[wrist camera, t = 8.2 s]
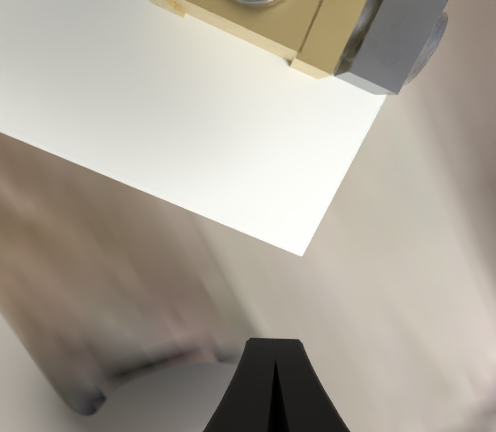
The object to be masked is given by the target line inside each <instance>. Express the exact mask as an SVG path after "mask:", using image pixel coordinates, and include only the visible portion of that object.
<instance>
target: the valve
mask: <svg viewBox="0 0 496 432" xmlns="http://www.w3.org/2000/svg"><path fill="white" fill-rule="evenodd" d="M149 1H150V2H151V3H152V4H154V5H156V6H158V7H160V8H163V9H165V10H167V11H169V12H171V13H173V14H176V15H178V16H180V17H182V18H184V16H185V13H186V14H188V15H190V16H192V17H194V18H196V19H199V20H201V21H203V22H205V23H207V24H210V25H212V26H214V27H216V28H218V29H220V30H223V31H225V32H227V33H229V34H231V35H233V36H236V37H238V38H240V39H242V40H244V41H247V42H249V43H251V44H253V45H255V46H257V47H260V48H262V49H264V50H266V51H268V52H270V53H273V54H275V55H277V56H279V57H281V58H283V59H286V60H288V61H290V62H291V64H290V66H289V67H291V68H293V69H296V70H298V71H300V72H302V73H304V74H307V75H309V76H311V77H313V78H315V79H317V80H319V79H322V78H324V77H327V76H330V75H332V73H333V71H334V69H335V67H336V65H337V63H338V61H339V58H340V57H342V58H343V59H342V61H341V63H340V65H339V67H338V70H337V72H336V74H335V76H334V77H337V78H339V79H341V80H343V81H345V82H347V83H350V84H352V85H354V86H356V87H358V88H360V89H363V90H365V91H367V92H369V93H371V94H373V95H398V93H399V91H400V89H401V88H402V86H403V85H406V84H407V83H409V82H410V81H411V80H413V79H414V78H415V77H416V76H417V74H418V73H419V72H420V71H421V70H422V69H423V67H424V66H425V65H426V63H427V62H428V60H429V59H430V57H431V56H432V54H433V53H434V51H435V49H436V48H437V46H438V44H439V42H440V40H441V38H442V36H443V33H444V31H445V28H446V25H447V21H448V15H447V13H445V12H443V9H444V7H445V5H446V4H447V2H448V0H281V1H279V2H277V3H275V4H273V5H270V6H267V7H262V8H249V7H244V6H240V5H238V4H235V3H234V2H232V1H230V0H149Z"/></svg>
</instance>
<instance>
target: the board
mask: <svg viewBox="0 0 496 432" xmlns="http://www.w3.org/2000/svg"><path fill="white" fill-rule="evenodd" d="M342 59H343V58H342V57H340V58H339V61H338V63H337V65H336V67H335V69H334V71H333V73H332V75H330V76H327V77H324V78H322V79H319V80H317V79H315V78H313V77H311V76H309V75H307V74H304V73H302V72H300V71H298V70H296V69H293V68H291V67H289V66H290V64H291V62H290V61H288V60H286V59H283V58H281V57H279V56H277V55H275V54H273V53H270V52H268V51H266V50H264V49H262V48H260V47H257V46H255V45H253V44H251V43H249V42H247V41H244V40H242V39H240V38H238V37H236V36H233V35H231V34H229V33H227V32H225V31H223V30H220V29H218V28H216V27H214V26H212V25H210V24H207V23H205V22H203V21H201V20H199V19H196V18H194V17H192V16H190V15H188V14H186V13H185V16H184V18H182V17H180V16H178V15H176V14H173V13H171V12H169V11H167V10H165V9H163V8H160V7H158V6H156V5H154V4H152V3H151V2H150V1H149V0H0V132H2V133H4V134H6V135H9V136H11V137H14V138H16V139H18V140H21V141H23V142H26V143H28V144H31V145H33V146H35V147H38V148H40V149H43V150H45V151H47V152H50V153H52V154H55V155H57V156H60V157H62V158H64V159H67V160H69V161H72V162H74V163H76V164H79V165H81V166H84V167H86V168H89V169H91V170H93V171H96V172H98V173H101V174H103V175H105V176H108V177H110V178H113V179H115V180H118V181H120V182H122V183H125V184H127V185H130V186H132V187H135V188H137V189H139V190H142V191H144V192H147V193H149V194H151V195H154V196H156V197H159V198H161V199H164V200H166V201H168V202H171V203H173V204H176V205H178V206H180V207H183V208H185V209H188V210H190V211H193V212H195V213H197V214H200V215H202V216H205V217H207V218H209V219H212V220H214V221H217V222H219V223H222V224H224V225H226V226H229V227H231V228H234V229H236V230H238V231H241V232H243V233H246V234H248V235H251V236H253V237H255V238H258V239H260V240H263V241H265V242H267V243H270V244H272V245H275V246H277V247H280V248H282V249H284V250H287V251H289V252H292V253H294V254H296V255H299V256H301V257H302V255H303V253H304V252H305V250H306V248H307V246H308V244H309V242H310V240H311V238H312V236H313V234H314V233H315V231H316V229H317V227H318V225H319V223H320V221H321V219H322V217H323V215H324V214H325V212H326V210H327V208H328V206H329V204H330V202H331V200H332V198H333V196H334V195H335V193H336V191H337V189H338V187H339V185H340V183H341V181H342V179H343V177H344V175H345V174H346V172H347V170H348V168H349V166H350V164H351V162H352V160H353V158H354V156H355V155H356V153H357V151H358V149H359V147H360V145H361V143H362V141H363V139H364V137H365V136H366V134H367V132H368V130H369V128H370V126H371V124H372V122H373V120H374V118H375V117H376V115H377V113H378V111H379V109H380V107H381V105H382V103H383V101H384V99H385V98H386V96H387V95H373V94H371V93H369V92H367V91H365V90H363V89H360V88H358V87H356V86H354V85H352V84H350V83H347V82H345V81H343V80H341V79H339V78H337V77H334V76H335V74H336V72H337V70H338V67H339V65H340V63H341V61H342Z"/></svg>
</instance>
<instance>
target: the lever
mask: <svg viewBox="0 0 496 432" xmlns="http://www.w3.org/2000/svg"><path fill="white" fill-rule="evenodd" d="M230 1H232V2H234V3H235V4H238V5H240V6H244V7H249V8H262V7H267V6H270V5H273V4H275V3H277V2H279V1H281V0H230Z"/></svg>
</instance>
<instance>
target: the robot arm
mask: <svg viewBox="0 0 496 432" xmlns="http://www.w3.org/2000/svg"><path fill="white" fill-rule="evenodd" d="M203 432H350V431H349V429H348V428H347V426H346V425H345V423H344V422H343V420H342V418H341V417H340V415H339V414H338V412H337V410H336V409H335V407H334V405H333V403H332V402H331V400H330V398H329V397H328V395H327V393H326V392H325V390H324V388H323V386H322V384H321V383H320V381H319V379H318V377H317V375H316V373H315V371H314V369H313V367H312V365H311V363H310V361H309V359H308V356H307V354H306V352H305V349H304V347H303V344H302V343H301V342H300V341H299V340H298V339H270V338H250V339H249V340H248V341H246V345H245V349H244V352H243V355H242V357H241V360H240V363H239V365H238V367H237V370H236V372H235V374H234V376H233V378H232V380H231V382H230V385H229V386H228V388H227V390H226V392H225V394H224V396H223V398H222V400H221V402H220V404H219V406H218V407H217V409H216V411H215V413H214V414H213V416H212V418H211V419H210V421H209V423H208V424H207V426H206V428H205V430H204V431H203Z"/></svg>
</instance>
